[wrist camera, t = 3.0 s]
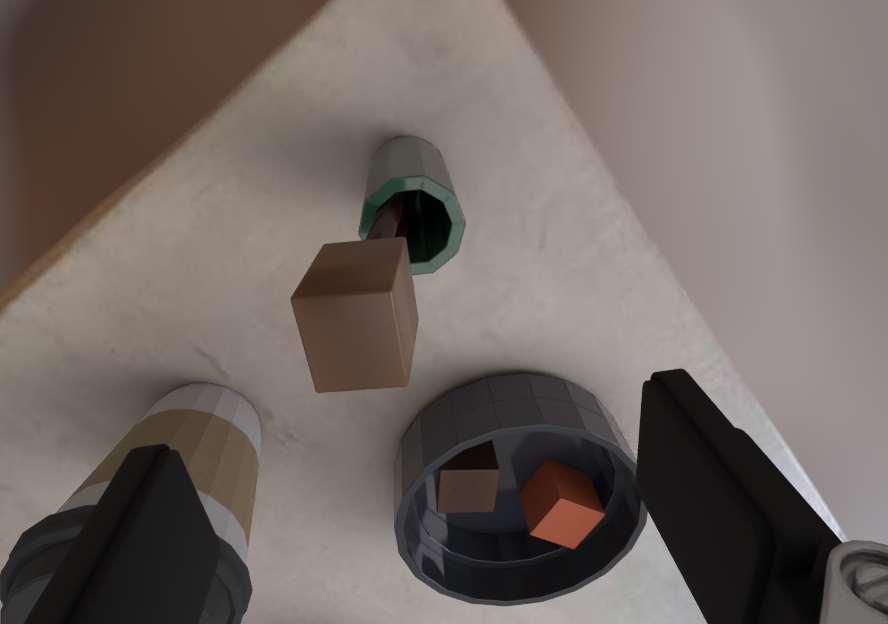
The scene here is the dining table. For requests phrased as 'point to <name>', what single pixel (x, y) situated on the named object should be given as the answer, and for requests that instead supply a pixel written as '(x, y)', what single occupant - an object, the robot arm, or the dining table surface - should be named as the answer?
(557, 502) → the terracotta block
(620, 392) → the dining table surface
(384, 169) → the holder
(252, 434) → the coffee cup
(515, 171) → the dining table surface
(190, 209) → the dining table surface
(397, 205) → the wooden cube mallet
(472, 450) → the walnut block
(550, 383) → the bowl
